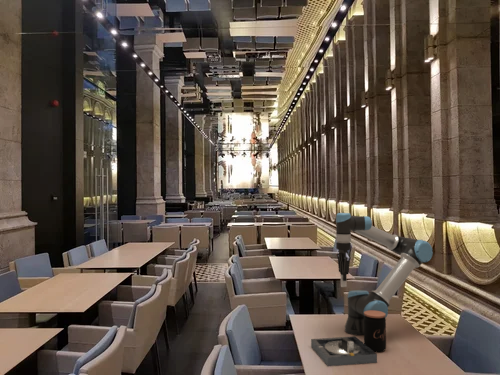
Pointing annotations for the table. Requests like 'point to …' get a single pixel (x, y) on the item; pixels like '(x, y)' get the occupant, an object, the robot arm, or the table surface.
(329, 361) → the grey square tray
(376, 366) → the table surface
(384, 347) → the coffee jar
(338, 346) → the dial
